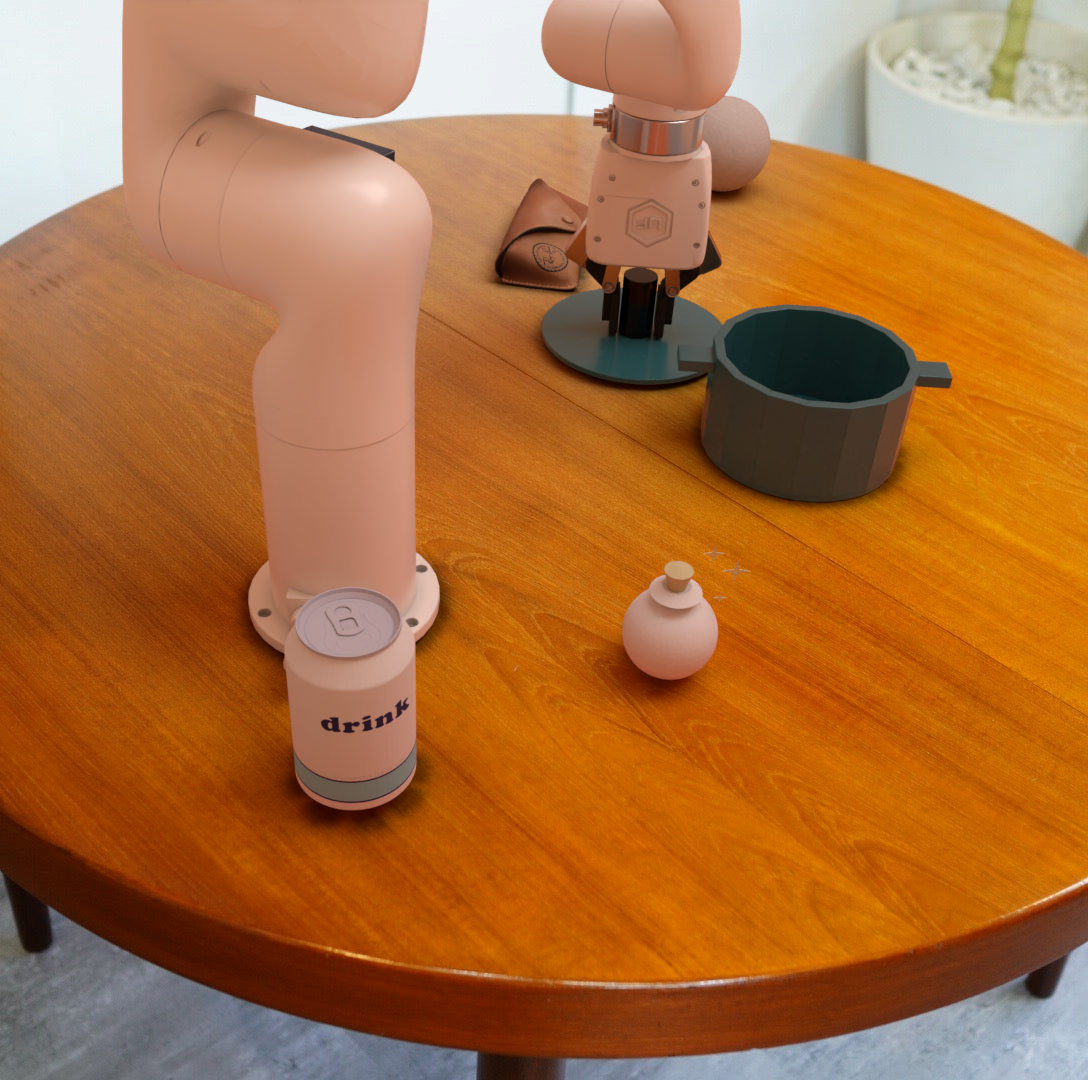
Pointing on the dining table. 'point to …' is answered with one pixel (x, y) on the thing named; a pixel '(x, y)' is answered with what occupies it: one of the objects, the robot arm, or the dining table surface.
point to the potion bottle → (672, 624)
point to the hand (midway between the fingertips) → (635, 326)
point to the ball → (735, 142)
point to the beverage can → (352, 698)
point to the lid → (627, 333)
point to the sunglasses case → (541, 240)
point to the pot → (807, 400)
